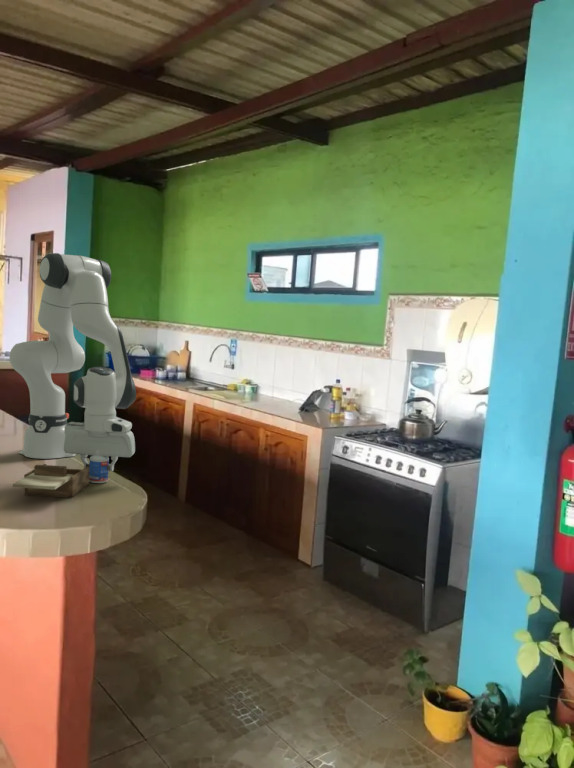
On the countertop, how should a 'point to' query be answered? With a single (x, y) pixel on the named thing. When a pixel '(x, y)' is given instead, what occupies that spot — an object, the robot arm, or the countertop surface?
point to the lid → (44, 477)
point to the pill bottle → (98, 468)
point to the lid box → (64, 485)
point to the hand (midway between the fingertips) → (98, 470)
